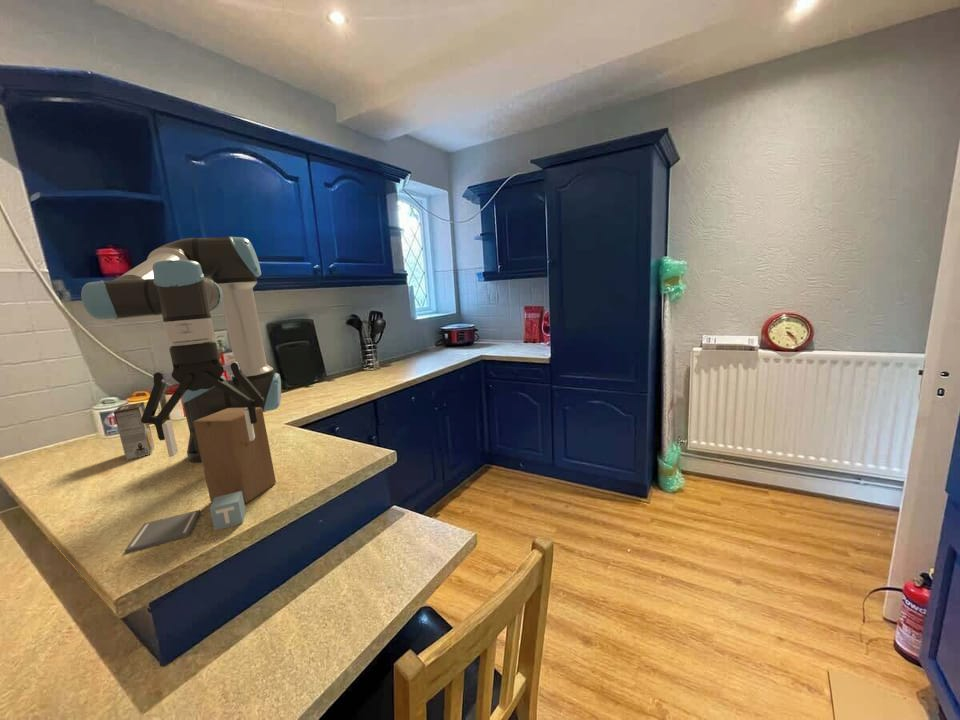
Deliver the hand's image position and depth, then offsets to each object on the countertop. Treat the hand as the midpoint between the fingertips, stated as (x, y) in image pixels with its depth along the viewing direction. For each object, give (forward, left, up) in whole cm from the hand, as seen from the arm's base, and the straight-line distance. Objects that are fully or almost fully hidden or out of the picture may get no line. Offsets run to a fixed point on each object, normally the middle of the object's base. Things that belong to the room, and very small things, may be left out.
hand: (214, 446), depth 79 cm
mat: (-3, -12, -17) cm, 21 cm away
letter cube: (0, 0, -17) cm, 17 cm away
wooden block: (-13, +1, -17) cm, 22 cm away
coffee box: (-65, -35, -17) cm, 76 cm away
